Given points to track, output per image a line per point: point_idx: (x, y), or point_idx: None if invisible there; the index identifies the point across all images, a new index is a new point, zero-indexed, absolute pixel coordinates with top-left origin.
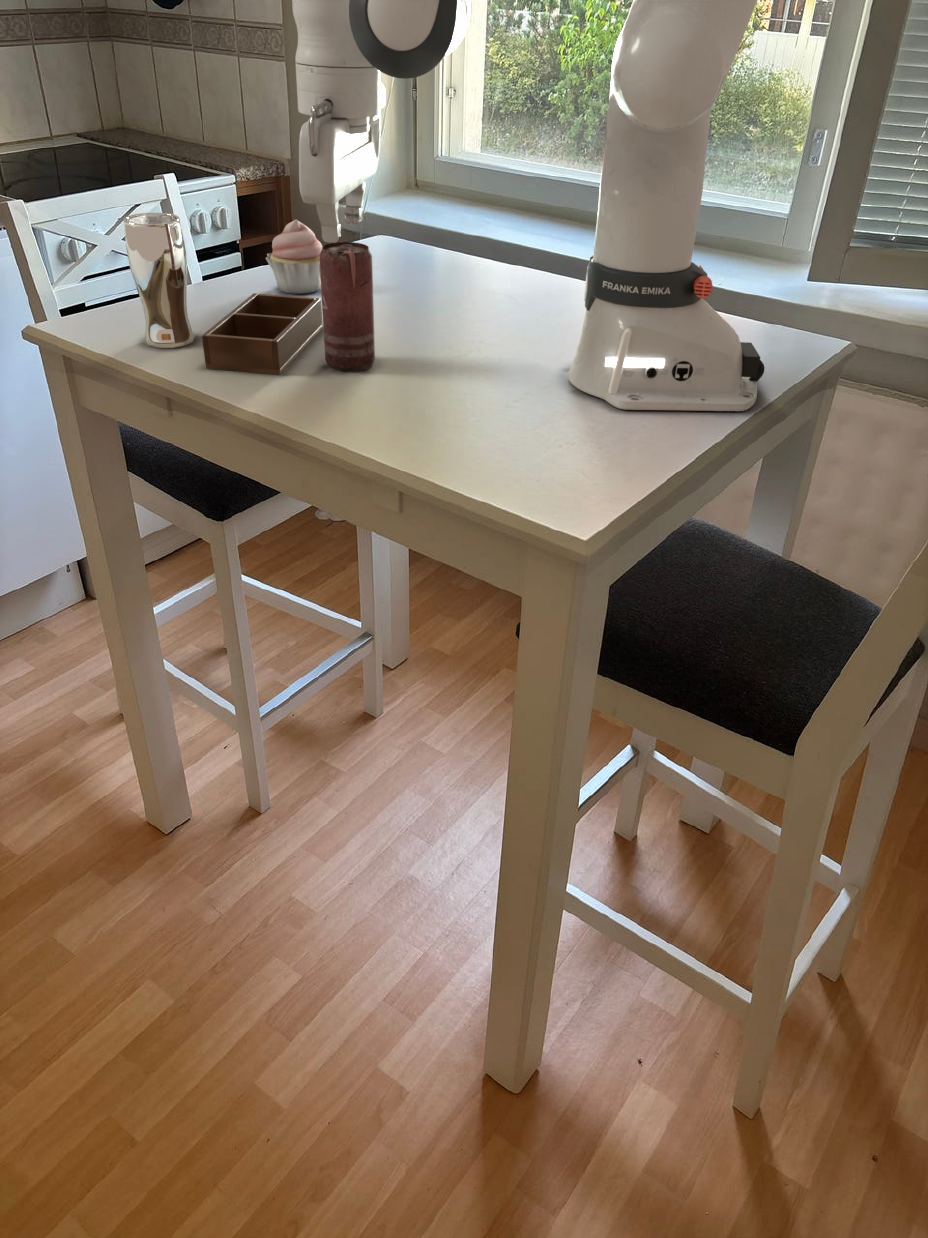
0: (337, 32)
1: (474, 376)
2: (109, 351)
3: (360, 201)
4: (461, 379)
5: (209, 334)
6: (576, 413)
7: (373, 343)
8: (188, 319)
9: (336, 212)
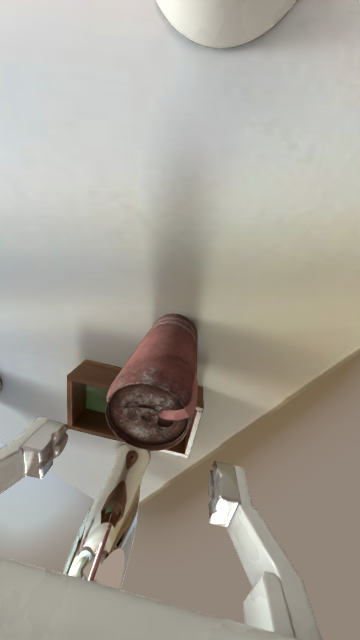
0: None
1: (207, 203)
2: (158, 481)
3: (3, 461)
4: (216, 219)
5: (186, 453)
6: (351, 43)
7: (176, 320)
8: (124, 459)
9: (286, 567)
